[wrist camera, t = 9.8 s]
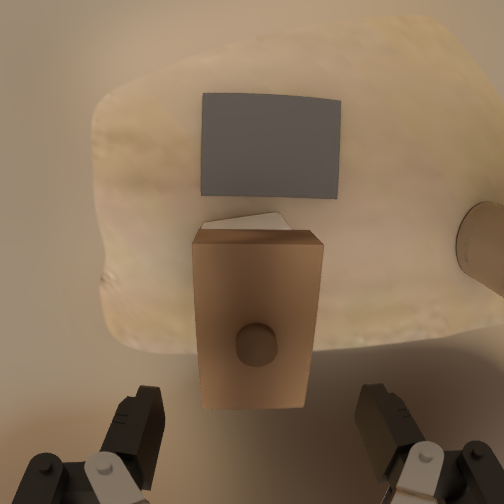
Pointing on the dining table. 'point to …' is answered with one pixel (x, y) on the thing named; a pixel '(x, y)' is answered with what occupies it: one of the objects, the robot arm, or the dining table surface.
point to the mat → (270, 145)
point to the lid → (255, 315)
